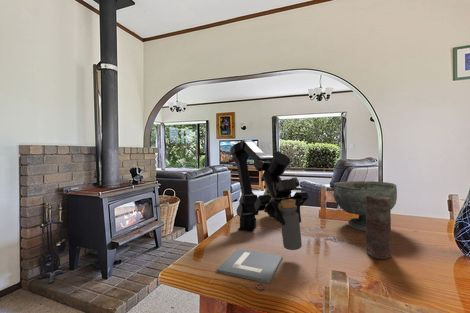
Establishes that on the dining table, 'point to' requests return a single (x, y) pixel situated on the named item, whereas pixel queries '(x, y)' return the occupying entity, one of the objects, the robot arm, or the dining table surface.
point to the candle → (378, 226)
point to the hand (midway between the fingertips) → (292, 223)
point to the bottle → (290, 225)
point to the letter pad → (251, 265)
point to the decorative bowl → (361, 198)
